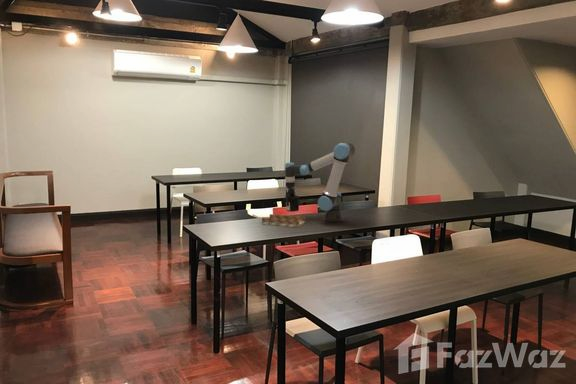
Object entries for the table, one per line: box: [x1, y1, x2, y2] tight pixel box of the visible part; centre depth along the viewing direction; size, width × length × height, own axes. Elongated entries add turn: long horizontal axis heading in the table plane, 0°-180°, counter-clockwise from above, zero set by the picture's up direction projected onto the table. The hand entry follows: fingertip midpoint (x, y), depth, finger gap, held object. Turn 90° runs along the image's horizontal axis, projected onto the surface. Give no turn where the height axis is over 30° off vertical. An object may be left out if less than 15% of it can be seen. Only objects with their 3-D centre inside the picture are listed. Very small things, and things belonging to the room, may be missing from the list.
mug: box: [282, 194, 300, 213], centre depth 379 cm, size 11×15×12 cm
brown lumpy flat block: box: [261, 213, 306, 228], centre depth 363 cm, size 30×16×5 cm, turn 68°
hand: (290, 209), depth 379 cm, fingers closed on mug, 10 cm apart
